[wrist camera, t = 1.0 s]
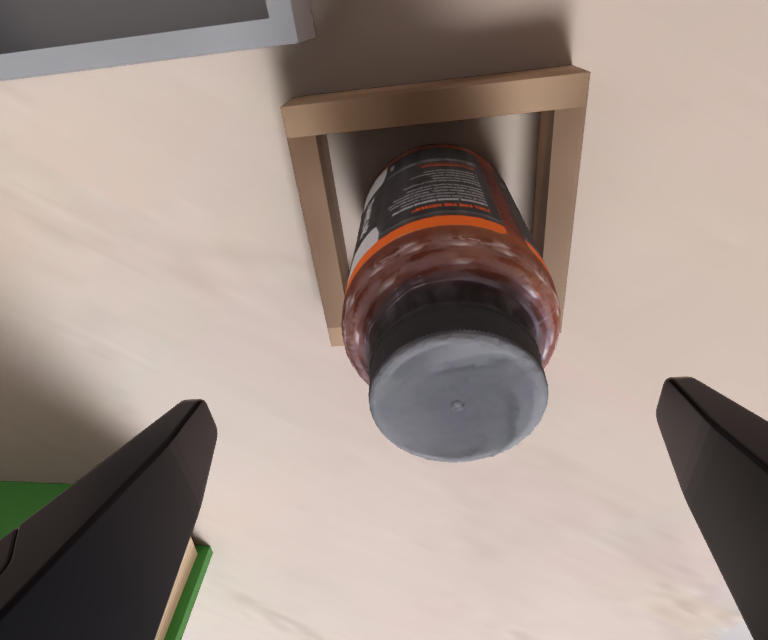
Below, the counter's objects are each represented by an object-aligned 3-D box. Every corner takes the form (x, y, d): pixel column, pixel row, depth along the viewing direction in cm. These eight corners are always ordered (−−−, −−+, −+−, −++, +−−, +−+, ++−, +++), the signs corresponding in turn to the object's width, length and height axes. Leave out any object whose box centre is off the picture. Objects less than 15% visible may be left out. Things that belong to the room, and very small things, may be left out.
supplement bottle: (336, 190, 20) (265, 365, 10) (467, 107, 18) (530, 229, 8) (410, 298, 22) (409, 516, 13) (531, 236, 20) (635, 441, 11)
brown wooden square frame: (572, 65, 17) (590, 72, 15) (549, 307, 22) (560, 332, 20) (293, 97, 18) (280, 107, 16) (337, 321, 23) (331, 346, 21)
